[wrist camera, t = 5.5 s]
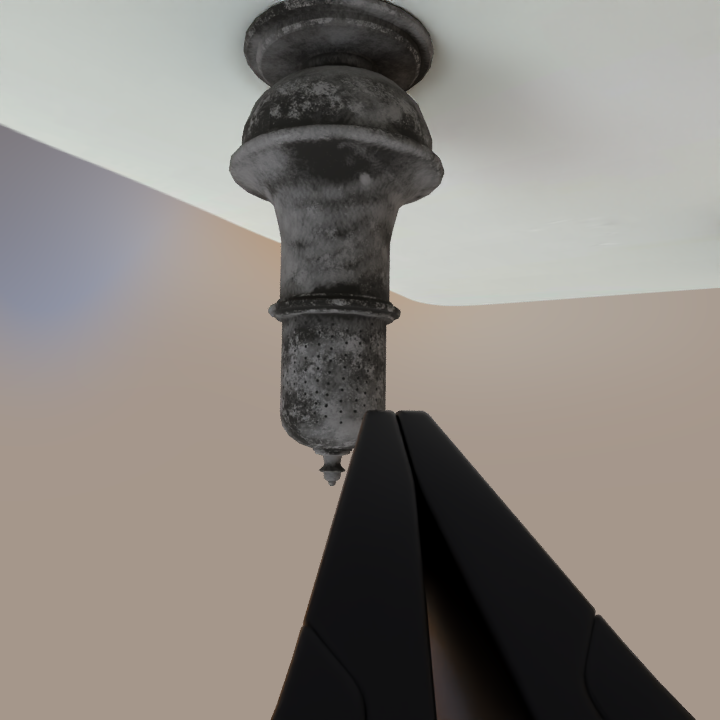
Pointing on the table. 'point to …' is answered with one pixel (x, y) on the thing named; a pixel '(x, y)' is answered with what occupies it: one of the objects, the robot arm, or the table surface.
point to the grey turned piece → (335, 197)
